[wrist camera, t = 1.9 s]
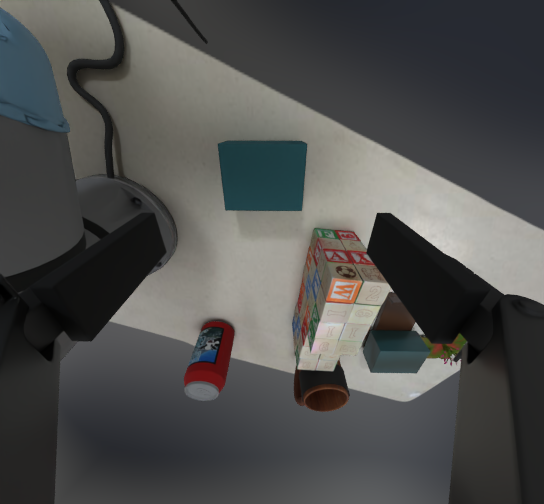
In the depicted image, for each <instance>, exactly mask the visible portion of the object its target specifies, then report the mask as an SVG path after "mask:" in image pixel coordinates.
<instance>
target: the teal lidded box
mask: <svg viewBox="0 0 544 504" xmlns="http://www.w3.org/2000/svg"><path fill="white" fill-rule="evenodd" d="M415 322H416V321H415V320H414V319H413V317H412V316H411V314H410V313H409V312H408V310H407V309H406V308H405V306H404V305H403V303H402V302H401V301H400V299H399V298H398V296H397V295H396V294H395V293H388V295H387V297H386V299H385V301H384V303H383V304H382V306H381V308H380V311H379V314H378V316H377V319H376V322H375V324H374V327H373V329H372V330H371V331H370V333H369V336H368V339H367V341H366V344H365V347H364V349H363V354H364V356H365V359H366V361H367V364H368V367H369V369H370V372H371V373H417V372H418V370H419V369H420V367H421V366H422V364H423V363H424V361H425V360H426V358H427V357H428V355H429V354H430V352H431V351H430V350H429V349H428V347H427V346H426V344H425V343H424V341H423V340H422V338H421V337H420V336H419V334H418V333H417V331H411V329H412V328H413V326H414V324H415Z"/></svg>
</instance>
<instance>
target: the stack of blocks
mask: <svg viewBox="0 0 544 504" xmlns="http://www.w3.org/2000/svg"><path fill="white" fill-rule="evenodd" d="M366 252H367V249H366V248H365V246H364V245H363V244H362V242H361V241H360V239H359V238H358V237H357V235H356V234H355V233H354V232H349V231H339V230H335V231H334V230H326V229H317V228H315V229H314V232H313V236H312V240H311V245H310V247H309V251H308V255H307V260H306V264H305V268H304V272H303V280H302V284H301V288H300V294H299V298H298V303H297V305H296V309H295V314H294V318H293V323H292V326H293V337H294V349H295V352H296V363H297V369H301V370H320V371H334V369H335V366H336V364H337V361H338V360H339V358H340V356H341V355H348V356H356V355H357V353H358V351H359V349H360V347H361V345H362V343H363V340H364V338H365V336H366V334H367V332H368V330H369V328H370V325H371V324H372V323H373V321H374V319H375V317H376V315H377V313H378V311H379V309H380V307H381V305H382V304H383V303H384V301H385V299H386V297H387V295H388V293H389V291H390V289H391V287H390V285H389V284H388V283H387V281H386V280H385V278H384V277H383V276H382V274H381V273H380V272H379V270H378V269H377V267H376V266H375V265H374V263H373V262H372V260H371V259H370V258H369V256H368V255H367V253H366Z"/></svg>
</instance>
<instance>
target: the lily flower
mask: <svg viewBox="0 0 544 504" xmlns="http://www.w3.org/2000/svg"><path fill="white" fill-rule="evenodd" d="M421 338H422V340H423V341H424V343H425V344H426V346H427V347H428V349H429V350H430V351H431V352H430V354H429V355H428V357H427V358H438V357H439V358H441V359H444V362H445V360H446V359H447V361H448V359H449V358H450V356H452V354H453V355H454V356H455V354H456V355H457V354H458V352H459V351H460V350H461V348H462V347H463V346H464V344H465V343H466V342H467V341H466V339H465V338H464V337H463V336H462V335H461V334H460V333H459V335H458V336H457V337H456V339H455V340H454V342H453V343H452V344H431V342H430V341H429V339H428V338H424V337H421ZM451 359H452V358H450V360H451ZM453 359H454V358H453ZM447 361H446V362H445V363H444V364H446V363H447ZM452 361H453V360H451V363H450V365H452ZM460 361H461V360H460ZM456 364H457V363H456Z"/></svg>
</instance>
